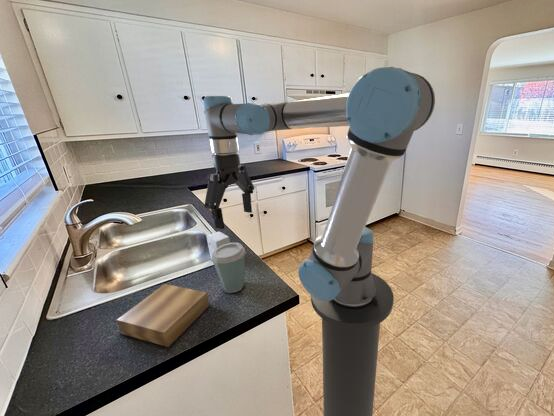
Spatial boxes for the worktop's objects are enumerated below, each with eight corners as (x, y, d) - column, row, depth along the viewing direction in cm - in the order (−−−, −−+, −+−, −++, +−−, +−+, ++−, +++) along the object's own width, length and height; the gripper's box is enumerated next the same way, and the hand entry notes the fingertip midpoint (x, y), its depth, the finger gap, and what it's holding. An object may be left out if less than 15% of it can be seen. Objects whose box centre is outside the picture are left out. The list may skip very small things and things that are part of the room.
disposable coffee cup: (222, 301, 85) (215, 261, 80) (213, 284, 93) (206, 247, 88) (254, 288, 91) (249, 250, 85) (243, 273, 99) (238, 237, 93)
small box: (233, 259, 108) (229, 236, 104) (220, 265, 104) (216, 241, 100) (223, 253, 113) (219, 230, 109) (210, 258, 109) (205, 235, 105)
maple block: (209, 305, 83) (206, 292, 82) (168, 347, 69) (164, 332, 67) (168, 296, 88) (164, 283, 86) (121, 334, 73) (116, 319, 72)
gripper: (242, 146, 90) (249, 205, 98) (180, 160, 69) (195, 234, 76) (260, 147, 88) (266, 207, 95) (202, 162, 66) (216, 238, 74)
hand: (235, 219), depth 86 cm, fingers open, 13 cm apart
